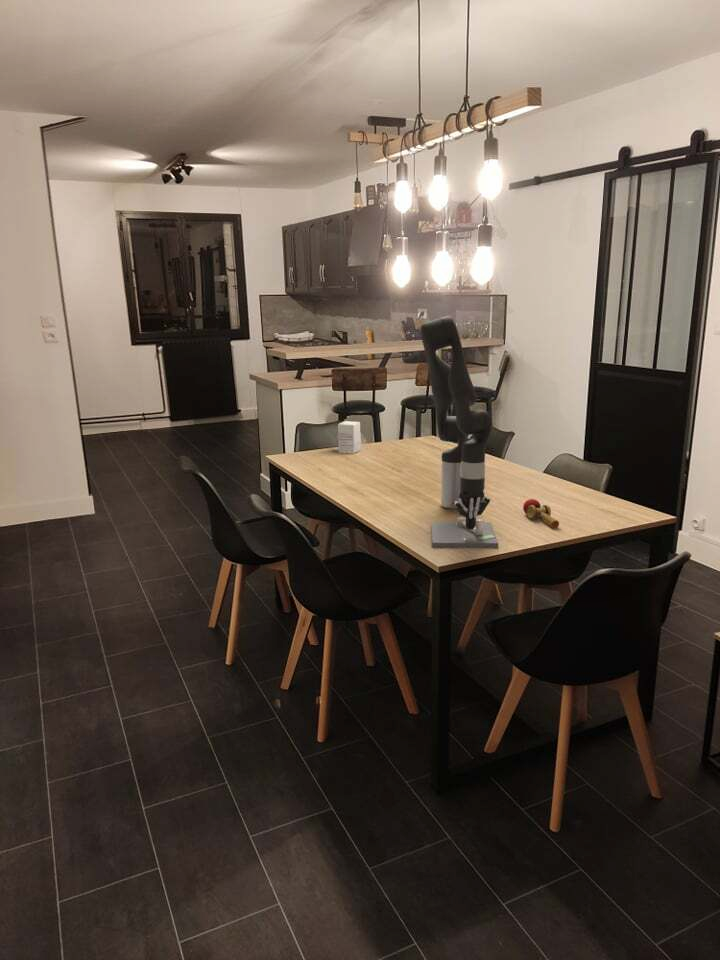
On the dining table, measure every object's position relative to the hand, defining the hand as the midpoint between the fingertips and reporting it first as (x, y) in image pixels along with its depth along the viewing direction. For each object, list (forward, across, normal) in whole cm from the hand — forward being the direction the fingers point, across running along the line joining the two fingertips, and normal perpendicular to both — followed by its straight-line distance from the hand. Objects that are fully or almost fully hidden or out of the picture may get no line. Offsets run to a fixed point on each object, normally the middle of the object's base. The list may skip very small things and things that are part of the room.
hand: (470, 528), depth 212 cm
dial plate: (+4, 0, +5) cm, 6 cm away
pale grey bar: (+2, +4, +5) cm, 7 cm away
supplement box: (+4, +19, +138) cm, 140 cm away
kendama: (+4, +33, +6) cm, 34 cm away
